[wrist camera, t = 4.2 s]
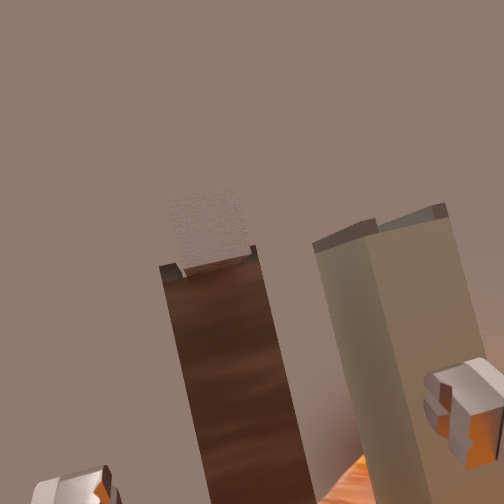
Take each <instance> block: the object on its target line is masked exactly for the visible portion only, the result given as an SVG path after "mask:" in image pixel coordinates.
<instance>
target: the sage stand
mask: <svg viewBox="0 0 504 504" xmlns="http://www.w3.org/2000/svg"><path fill="white" fill-rule="evenodd" d="M312 244H313V248H314V252H315V256H316V260H317V264H318V268H319V272H320V276H321V281H322V284H323V289H324V293H325V297H326V301H327V305H328V309H329V313H330V317H331V321H332V325H333V329H334V333H335V337H336V341H337V346H338V350H339V354H340V357H341V362H342V366H343V370H344V374H345V378H346V382H347V386H348V390H349V394H350V398H351V403H352V406H353V411H354V415H355V419H356V422H357V427H358V431H359V435H360V439H361V443H362V447H363V451H364V455H365V459H366V463H367V468H368V472H369V476H370V480H371V484H372V488H373V492H374V496H375V500H376V504H504V467H503V466H501V465H500V464H498V463H497V461H495V462H492V463H489V464H485V465H482V466H478V467H475V468H471V469H468V470H465V469H464V468H463V467H462V465H461V464H460V463H459V462H458V460H457V459H456V458H455V456H454V455H453V454H452V453H451V451H450V450H449V449H448V439H446V438H444V437H442V436H440V435H438V434H437V433H436V432H435V431H434V429H433V428H432V427H431V425H430V423H429V421H428V420H427V417H426V414H425V411H424V397H425V395H426V394H427V392H428V391H429V390H428V389H427V388H426V386H425V385H424V379H425V376H426V374H427V373H428V372H432V371H435V370H438V369H442V368H445V367H448V366H452V365H455V364H458V363H462V362H466V361H469V360H473V359H476V358H479V357H480V358H483V359H485V360H486V361H487V357H486V354H485V350H484V346H483V343H482V339H481V335H480V331H479V328H478V324H477V320H476V317H475V313H474V309H473V305H472V302H471V298H470V294H469V291H468V287H467V283H466V280H465V276H464V272H463V268H462V264H461V261H460V257H459V253H458V250H457V246H456V242H455V239H454V235H453V231H452V227H451V223H450V220H449V216H448V212H447V209H446V205H445V203H440V204H437V205H432V206H429V207H426V208H424V209H421V210H418V211H416V212H413V213H411V214H408V215H405V216H403V217H400V218H398V219H395V220H392V221H390V222H387V223H385V224H382V225H379V226H377V224H376V220H375V218H374V219H369V220H365V221H360V222H358V223H356V224H354V225H352V226H349V227H347V228H345V229H343V230H340V231H339V232H336V233H334V234H332V235H329V236H327V237H325V238H323V239H321V240H319V241H316V242H314V243H312Z"/></svg>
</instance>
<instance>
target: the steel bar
mask: <svg viewBox="0 0 504 504" xmlns="http://www.w3.org/2000/svg"><path fill="white" fill-rule="evenodd" d="M168 202H169V207H170V211H171V215H172V220H173V225H174V229H175V233H176V238H177V242H178V247H179V251H180V255H181V260H182V265H183V269H184V271H185V273H186V275H187V277H190V276H194V275H198V274H203V273H207V272H211V271H216V270H220V269H225V268H229V267H233V266H236V265H237V264H239V263H240V262H241V261H243V260H244V259H245V258H247V257H248V256H249V255H251V254H252V253H251V249H250V245H249V240H248V237H247V232H246V228H245V223H244V219H243V215H242V211H241V207H240V203H239V198H238V194H237V190H236V188H231V189H226V190H221V191H216V192H211V193H206V194H201V195H197V196H191V197H187V198H182V199H176V200H172V201H168Z"/></svg>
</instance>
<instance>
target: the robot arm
mask: <svg viewBox="0 0 504 504" xmlns="http://www.w3.org/2000/svg"><path fill="white" fill-rule="evenodd" d="M424 385H425V386H426V388H427V389H428V390H429V391H428V392H427V394H426V395H425V397H424V411H425V414H426V417H427V420H428V421H429V423H430V425H431V427H432V428H433V429H434V431H435V432H436V433H437V434H438V435H440V436H442V437H444V438H446V439H448V449H449V450H450V451H451V453H452V454H453V455H454V456H455V458H456V459H457V460H458V462H459V463H460V464H461V465H462V467H463V468H464V469H465V470H468V469H471V468H475V467H478V466H482V465H485V464H489V463H492V462H495V461H497V463H498V464H500V465H501V466H503V467H504V376H503V375H502V374H501V373H500V372H499V371H498V370H496V368H494V367H493V366H492V365H491V364H490V363H489V362H488V361H486V360H485V359H483V358H480V357H479V358H476V359H473V360H469V361H466V362H462V363H458V364H455V365H452V366H448V367H445V368H442V369H438V370H435V371H432V372H428V373H427V374H426V376H425V379H424ZM111 479H112V475H111V472H110V470H109V468H108V466H107V465H104V466H100V467H96V468H92V469H88V470H84V471H80V472H76V473H72V474H69V475H65V476H61V477H58V478H55V479H51V480H47V481H43V482H39V483H38V485H37V487H36V488H35V490H34V492H33V497H32V501H31V504H122V502H121V498H120V495H119V492H118V489H117V488H116V487H114V486H112V485H111Z"/></svg>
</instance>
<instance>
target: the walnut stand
mask: <svg viewBox="0 0 504 504" xmlns="http://www.w3.org/2000/svg"><path fill="white" fill-rule="evenodd" d="M250 249H251V253H252V254H251V255H249V256H248V257H247V258H245V259H244V260H243V261H241V262H240V263H239V264H237V265H236V266H233V267H229V268H225V269H220V270H216V271H211V272H207V273H203V274H198V275H194V276H190V277H185V278H183V276H182V273H181V271H180V269H179V268H178V266H177V265H176V263H173V264H168V265H163V266H159V269H160V273H161V277H162V282H163V287H164V291H165V296H166V300H167V305H168V310H169V314H170V319H171V323H172V327H173V332H174V337H175V341H176V346H177V350H178V355H179V359H180V364H181V368H182V372H183V377H184V381H185V386H186V391H187V395H188V400H189V405H190V409H191V414H192V418H193V422H194V427H195V432H196V436H197V441H198V445H199V449H200V454H201V459H202V463H203V468H204V472H205V477H206V481H207V486H208V490H209V495H210V499H211V504H317V503H316V499H315V495H314V490H313V486H312V482H311V478H310V474H309V470H308V465H307V461H306V457H305V453H304V449H303V444H302V440H301V436H300V431H299V427H298V424H297V419H296V415H295V410H294V406H293V402H292V398H291V393H290V389H289V385H288V381H287V377H286V372H285V368H284V364H283V360H282V356H281V351H280V347H279V343H278V339H277V334H276V331H275V326H274V322H273V318H272V314H271V309H270V305H269V301H268V296H267V292H266V288H265V284H264V280H263V276H262V271H261V267H260V263H259V259H258V254H257V250H256V246H255V245H253V246H250Z"/></svg>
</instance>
